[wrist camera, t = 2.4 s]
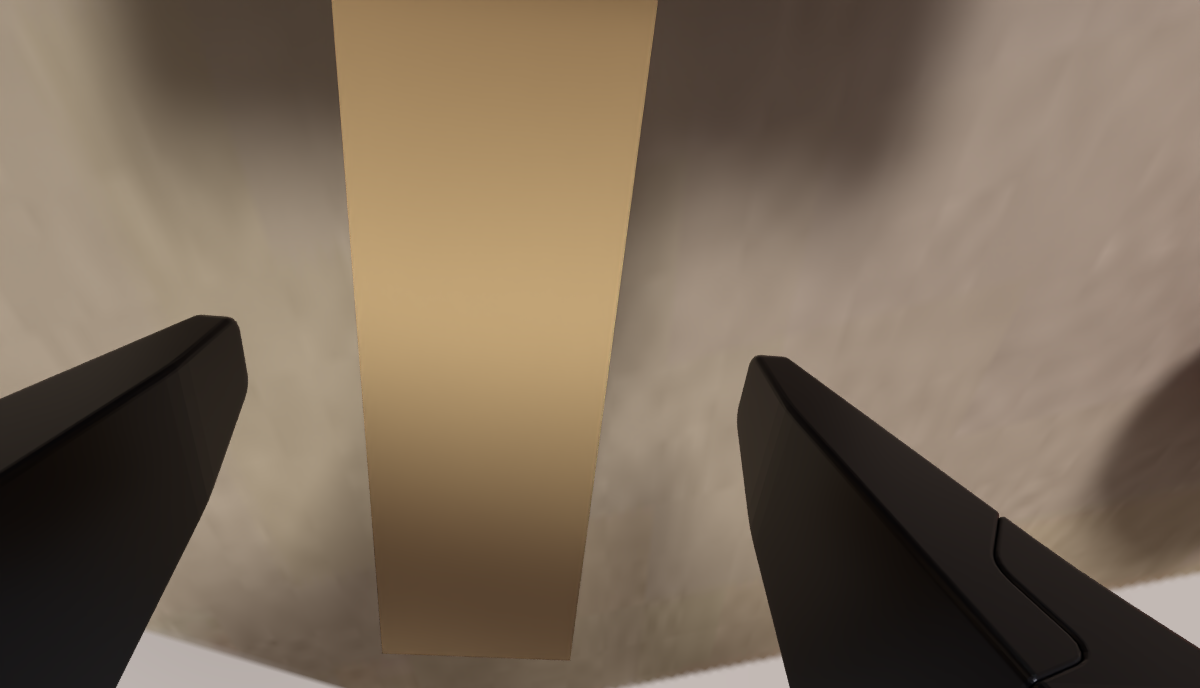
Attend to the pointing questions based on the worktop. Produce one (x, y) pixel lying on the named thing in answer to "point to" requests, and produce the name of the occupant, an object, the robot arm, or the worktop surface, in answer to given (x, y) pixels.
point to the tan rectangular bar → (486, 298)
